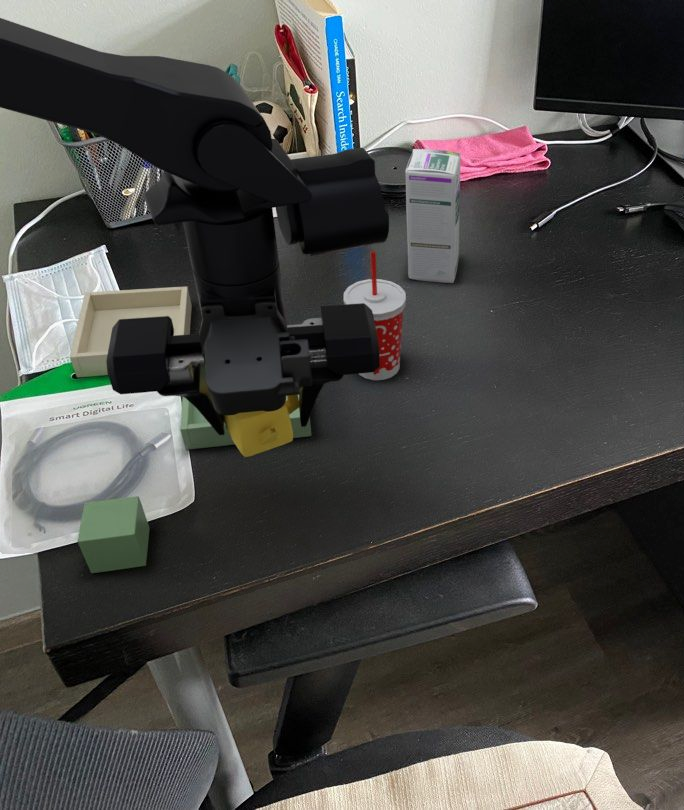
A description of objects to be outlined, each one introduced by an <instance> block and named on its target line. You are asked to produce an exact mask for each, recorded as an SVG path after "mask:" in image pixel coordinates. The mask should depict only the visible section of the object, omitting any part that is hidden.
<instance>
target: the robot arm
mask: <svg viewBox="0 0 684 810" xmlns="http://www.w3.org/2000/svg"><path fill="white" fill-rule="evenodd" d="M0 108H1V109H4V110H7V111H11V112H15V113H18V114H22V115H26V116H29V117H34V118H37V119H41V120H44V121H48V122H51V123H54V124H59V125H62V126H66V127H69V128H73V129H77V130H81V131H84V132H88V133H91V134H94V135H97V136H99V137H101V138H103V139H106V140H108V141H110V142H113V143H115V144H117V145H119V146H120V147H122V148H124V149H125V150H127V151H129V152H130V153H132V154H133V155H135V156H137V157H138V158H139V159H142V160H143V161H145V162H146V163H148V164H150V165H152V166H153V167H155V168H157V169H158V170H161V171H163V172H162V174H161V176H160V178H159V179H158V181H157V182H155V183H154V184H152V185H151V186H150V188H149V187H148V189H147V190H146V191H145V192H144V193H143V199H144V202H145V204H146V206H147V209H148V211H149V214H150V216H151V219H152V221H153V223H154V224H155V225H157V226H167V225H173V224H180V223H182V224H183V226H182V227H183V231H184V235H185V241H186V245H187V251H188V255H189V259H190V260H189V261H190V264H191V271H192V275H193V280H194V284H195V289H196V294H197V295H196V296H197V298H198V304H199V309H200V314H201V318H202V319H201V323H200V327H199V333H190V334H189V335H175V336H173V335H174V327H173V323H172V319H171V318H170V317H169V316H162V317H147V318H132V319H119V320H118V321H117V323H116V324H115V325H114V326H113V328H112V332H111V338H110V343H109V349H108V355H107V360H106V363H107V373H108V375H107V376H108V379H109V383H110V386H111V388H112V391H113V392H116V393H117V394H119V395H131V394H142V393H154V392H156V393H157V394H158V395H160V396H162V397H182V398H183V397H184V398H186V399H187V400H188V401H189V402H190V403H191V404H193V405H194V406H195V407H196V408H197V409H198V411H199V412H200V413H201V414H202V415H203V417H204V418H205V419H206V420H207V421H208V423H209V424H210V425H211V426H212V427H213V428H214V430H215V431H216V432H217V433H218V434H219V435H224V434H225V425H224V419H223V415H236V414H238V413H244V412H255V411H266V412H269V411H276V410H278V409H280V408H282V407H283V405H284V404H285V402H286V396H289V395H299V412H300V422H301V427H305V426H307V423H308V420H309V417H310V418H311V414H312V412H313V409H314V408H315V403H316V401H317V398H318V396H319V395H320V392H321V390H322V389H323V387H324V386H325V384H328V383H331V382H338V381H341V380H342V379H343V378H344V376H348V375H359V373H371V372H374V371H376V370H377V369H378V368H379V367H380V359H379V344H378V337H377V332H376V327H375V322H374V317H373V312H372V310H371V309H370V308H369V307H368V306H367V305H366V304H365V303H360V304H345V305H344V304H331V305H329V304H328V305H320V317H311V318H306V319H305V320H304V321H303V322H302V323H299V324H297V323H296V324H288V322H287V316H286V314H287V313H286V307H285V306H286V305H285V298H284V291H283V282H282V275H281V268H280V258H279V251H278V244H277V243H278V242H277V236H276V235H277V233H276V227H275V219H274V209H273V208H275V212H276V218H277V221H278V226H279V229H280V232H281V235H282V237H283V239H284V241H285V243H286V245H289V246H292V245H297V244H298V245H299V247H300V250H301V253H302V255H303V256H306V257H312V256H319V255H325V254H330V253H336V252H341V251H347V250H351V249H358V248H363V247H369V246H373V245H379V244H384V243H386V241H387V239H388V237H389V233H390V215H389V211H388V210H387V208H386V205H385V200H384V196H383V192H382V188H381V185H380V183H379V180H378V178H377V175H376V161H375V160H374V158H373V157H372V156H371V154H370V153H369V152H368V151H367V150H366V149H365V148H364V147H357V148H356V147H354V148H348V149H344V150H342V151H339V152H336V153H331V154H330V153H329V154H321V155H314V156H306V157H299V158H292V159H291V158H290V156H289V155H288V153H287V152H286V151H285V149H284V148H283V146H282V145H281V143H280V142H279V141H278V140H277V138H272V133H271V130H270V127H269V125H268V124H267V122H266V120H265V118H264V116H263V115H262V114H261V112H260V111H259V109H258V107H256V105H255V104H254V103H253V101H252V100H251V98H250V96H249V95H248V94H247V93H246V91H245V90H244V89H243V87H242V86H241V84H240V83H239V81H237V80H236V78H235V77H233V76H232V75H231V74H229V73H228V72H227V71H225V70H223V69H221V68H219V67H217V66H214V65H210V64H205V63H199V62H194V61H189V60H184V59H183V60H182V59H178V58H177V59H176V58H171V57H165V56H161V55H121V54H115V53H109V52H105V51H100V50H97V49H94V48H91V47H88V46H85V45H82V44H79V43H76V42H73V41H70V40H67V39H64V38H61V37H59V36H55V35H52V34H49V33H46V32H43V31H40V30H38V29H35V28H32V27H29V26H27V25H26V26H25V25H23V24H20V23H18V22H17V23H16V22H14V21H11V20H8V19H5V18H2V17H0Z"/></svg>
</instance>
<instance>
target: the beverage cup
mask: <svg viewBox="0 0 684 810" xmlns="http://www.w3.org/2000/svg"><path fill="white" fill-rule="evenodd" d="M370 271H371V272H370V273H371V278H368V279H364V280H363V279H362V280H359V281H356V282H355V283H352V284H350V285H348V286H347V288H346V289H345V291H344V292H343V305H345V304H360V303H365V304H366V305H367V306H368V307H369V308H370V309H371V310H372V312H373V317H374V322H375V327H376V332H377V337H378V344H379V359H380V367H379V368H378V369H377V370H376V371H374V372H371V373H359V374H358V375H359V376H361V377H363V378H364V379H367V380H371V381H384V380H388V379H391V378H393V377H394V376H395V375H397V374H398V372H399V370H400V368H401V367H400V366H401V349H402V335H403V333H402V332H403V318H404V317H403V315H404V309H405V308H406V304H407V303H406V302H407V296H406V291H405V290H404V289H403V287H402V286H401V285H399V284H397V283H395V282H393V281H390V280H386V279H381V278H377V254H376V250H371V251H370Z"/></svg>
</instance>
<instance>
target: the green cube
mask: <svg viewBox="0 0 684 810" xmlns="http://www.w3.org/2000/svg"><path fill="white" fill-rule="evenodd" d="M150 529H151V528H150V526H149V522H148V519H147V516H146V513H145V509H144V506H143V504H142V501H141V498H140V496H139V495H138V496H128V497H120V498H113V499H112V498H111V499H105V500H95V501H87V502H84V503H83V509H82V513H81V518H80V525H79V531H78V537H77V544H78V546H79V548H80V551H81V553H82V556H83V558H84V560H85V563H86V565H87V567H88V569H89V572H90V574H97V573H104V572H112V571H119V570H125V569H126V570H127V569H133V568H139V567H146V566H147V559H148V549H149V538H150Z"/></svg>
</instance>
